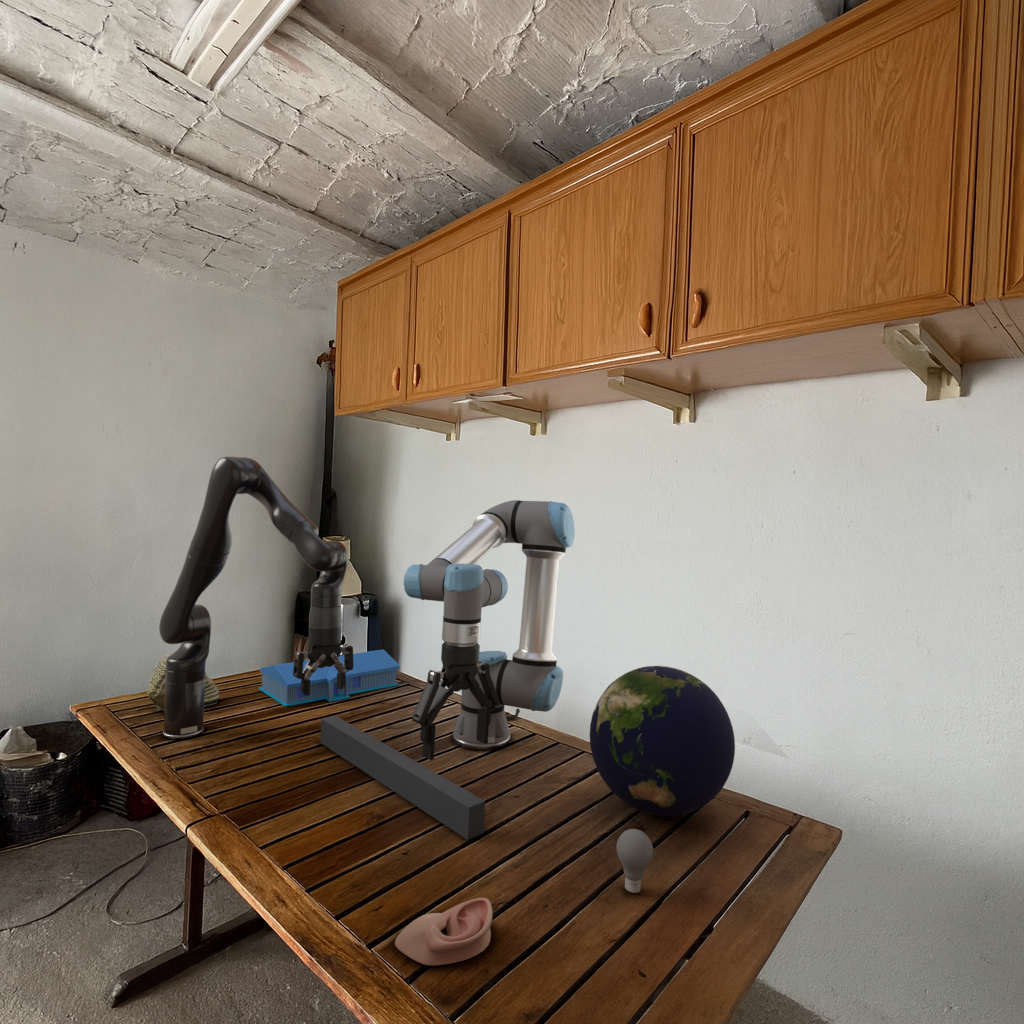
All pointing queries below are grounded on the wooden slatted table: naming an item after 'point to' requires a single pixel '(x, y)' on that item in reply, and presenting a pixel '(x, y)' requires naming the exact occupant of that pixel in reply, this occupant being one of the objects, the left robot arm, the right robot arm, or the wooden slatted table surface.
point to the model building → (330, 679)
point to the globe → (662, 740)
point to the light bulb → (634, 857)
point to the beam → (406, 777)
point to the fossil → (158, 687)
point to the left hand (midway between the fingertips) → (323, 691)
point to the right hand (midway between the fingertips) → (456, 749)
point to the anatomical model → (448, 934)
